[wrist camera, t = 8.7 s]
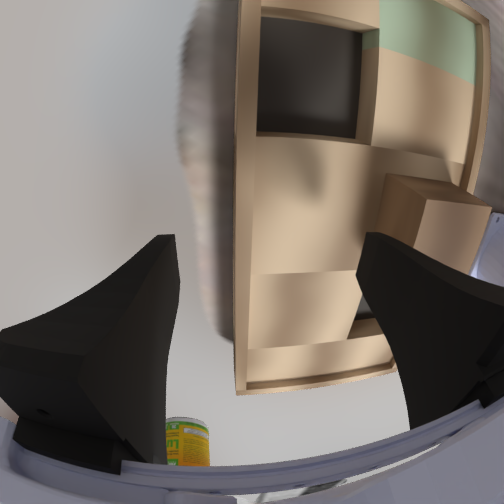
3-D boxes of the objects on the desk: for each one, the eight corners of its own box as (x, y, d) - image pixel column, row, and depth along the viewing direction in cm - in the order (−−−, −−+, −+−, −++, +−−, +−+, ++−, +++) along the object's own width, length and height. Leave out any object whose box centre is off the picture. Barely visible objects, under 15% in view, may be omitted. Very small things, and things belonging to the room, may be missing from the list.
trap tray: (461, 21, 9) (488, 19, 7) (385, 350, 24) (395, 371, 22) (241, -45, 8) (245, -67, 6) (234, 369, 22) (236, 395, 20)
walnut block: (452, 182, 13) (492, 207, 10) (430, 256, 16) (461, 288, 13) (385, 173, 13) (426, 199, 10) (366, 258, 15) (395, 298, 12)
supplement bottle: (175, 411, 26) (173, 496, 17) (217, 424, 28) (222, 501, 20) (153, 425, 27) (149, 499, 19) (192, 437, 30) (194, 506, 21)
